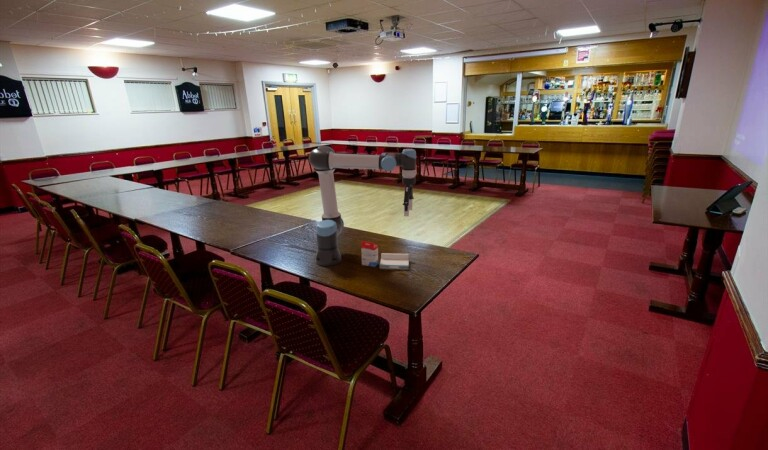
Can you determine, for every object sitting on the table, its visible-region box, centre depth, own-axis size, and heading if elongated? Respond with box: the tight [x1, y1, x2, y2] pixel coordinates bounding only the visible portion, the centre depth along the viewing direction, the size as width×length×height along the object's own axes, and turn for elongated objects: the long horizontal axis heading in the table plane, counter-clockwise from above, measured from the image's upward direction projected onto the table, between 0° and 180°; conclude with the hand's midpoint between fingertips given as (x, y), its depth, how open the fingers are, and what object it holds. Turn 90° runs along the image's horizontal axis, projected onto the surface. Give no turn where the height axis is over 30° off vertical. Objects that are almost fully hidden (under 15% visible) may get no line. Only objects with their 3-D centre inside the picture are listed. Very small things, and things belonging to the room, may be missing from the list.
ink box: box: [360, 240, 379, 268], centre depth 205 cm, size 8×5×15 cm, turn 65°
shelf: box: [379, 252, 410, 271], centre depth 205 cm, size 16×12×4 cm
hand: (408, 213), depth 212 cm, fingers open, 13 cm apart
